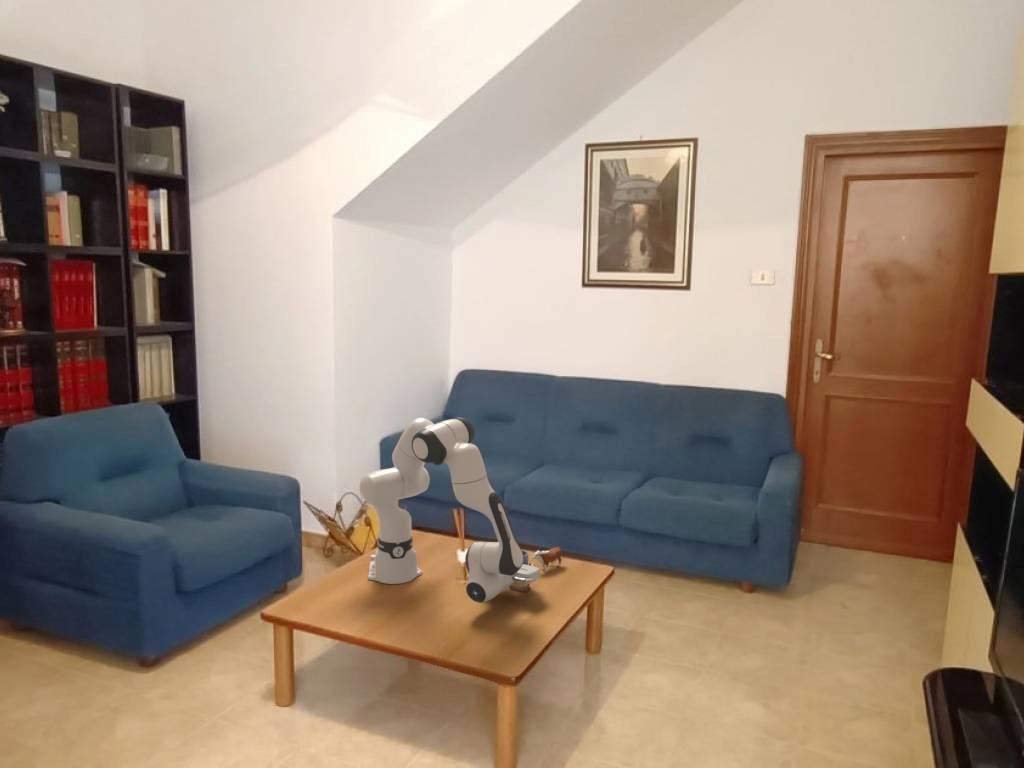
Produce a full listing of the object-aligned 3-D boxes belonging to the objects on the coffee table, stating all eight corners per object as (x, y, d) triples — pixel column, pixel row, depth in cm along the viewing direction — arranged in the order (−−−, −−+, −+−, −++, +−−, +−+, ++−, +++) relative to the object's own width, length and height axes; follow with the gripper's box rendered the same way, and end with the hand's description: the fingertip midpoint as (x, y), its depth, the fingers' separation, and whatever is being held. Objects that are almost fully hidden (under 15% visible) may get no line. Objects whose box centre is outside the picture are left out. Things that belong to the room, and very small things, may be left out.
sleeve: (507, 581, 265) (508, 551, 263) (524, 579, 266) (525, 549, 265) (513, 588, 259) (514, 557, 258) (530, 586, 261) (531, 555, 259)
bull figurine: (530, 572, 276) (530, 550, 275) (556, 563, 285) (557, 542, 284) (538, 576, 273) (539, 554, 271) (565, 566, 282) (565, 545, 280)
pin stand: (506, 583, 265) (506, 562, 264) (525, 581, 267) (525, 560, 266) (512, 591, 259) (513, 570, 257) (532, 589, 261) (532, 568, 260)
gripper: (529, 573, 245) (548, 559, 257) (474, 560, 255) (495, 547, 267) (528, 592, 246) (547, 577, 258) (474, 578, 256) (495, 565, 268)
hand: (520, 562), depth 262 cm, fingers open, 8 cm apart
